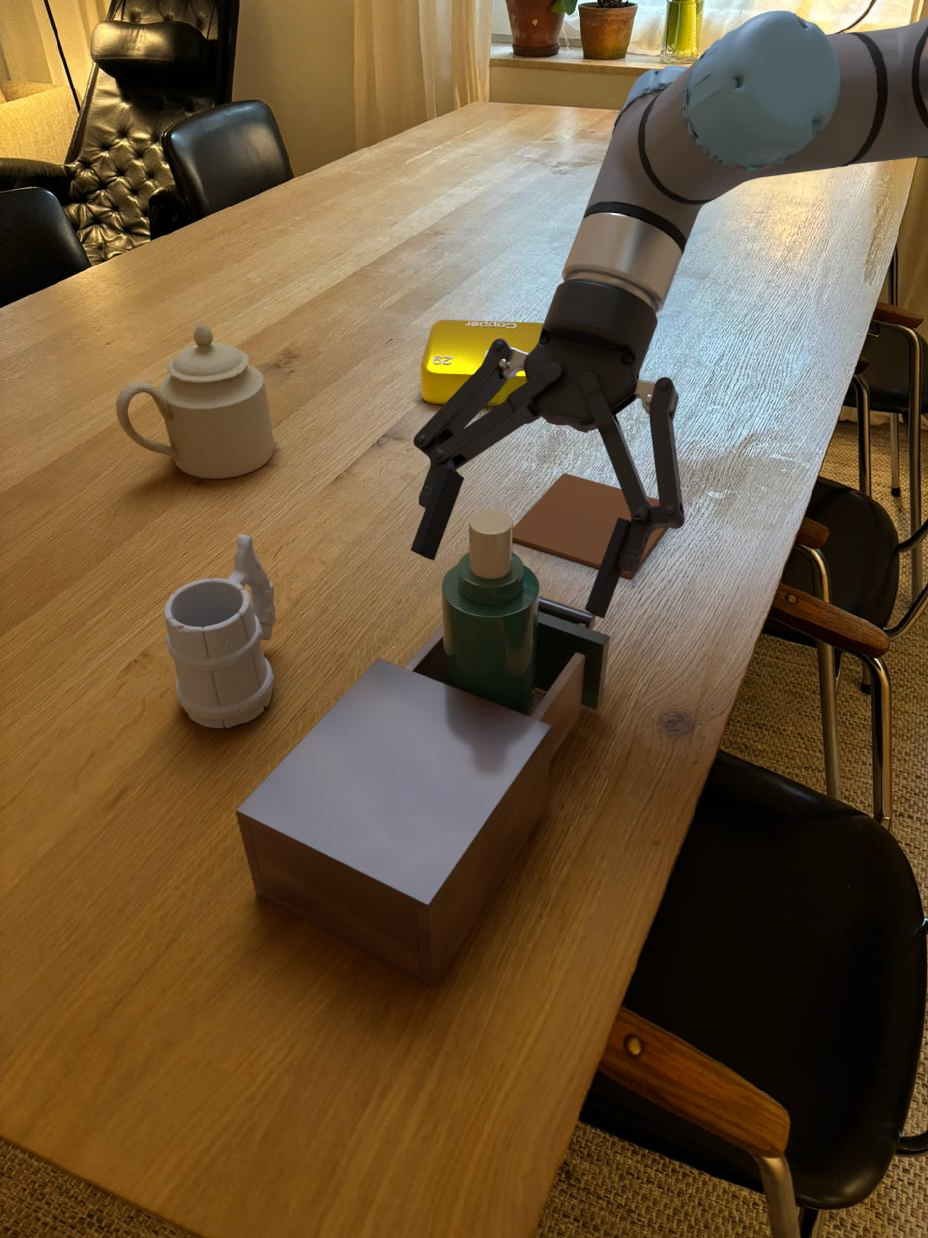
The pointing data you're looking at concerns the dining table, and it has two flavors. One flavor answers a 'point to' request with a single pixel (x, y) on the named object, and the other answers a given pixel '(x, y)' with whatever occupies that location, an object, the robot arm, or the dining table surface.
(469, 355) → the element tile
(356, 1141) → the dining table surface
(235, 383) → the sugar bowl
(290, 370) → the dining table surface
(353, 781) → the cabinet
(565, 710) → the drawer
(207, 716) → the mug
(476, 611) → the oil bottle
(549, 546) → the cork mat
